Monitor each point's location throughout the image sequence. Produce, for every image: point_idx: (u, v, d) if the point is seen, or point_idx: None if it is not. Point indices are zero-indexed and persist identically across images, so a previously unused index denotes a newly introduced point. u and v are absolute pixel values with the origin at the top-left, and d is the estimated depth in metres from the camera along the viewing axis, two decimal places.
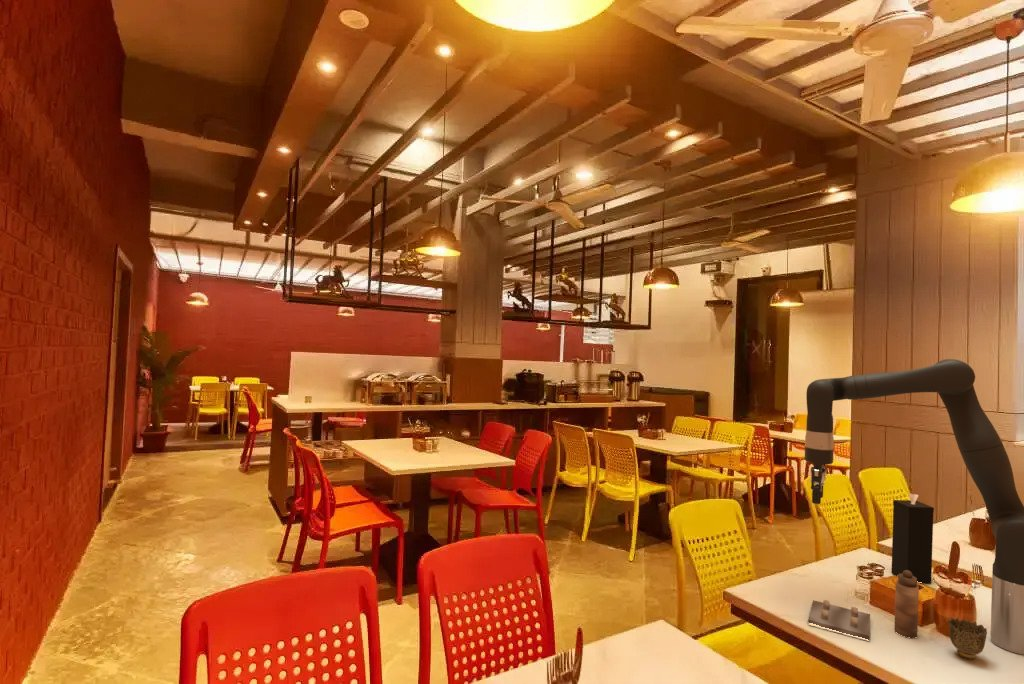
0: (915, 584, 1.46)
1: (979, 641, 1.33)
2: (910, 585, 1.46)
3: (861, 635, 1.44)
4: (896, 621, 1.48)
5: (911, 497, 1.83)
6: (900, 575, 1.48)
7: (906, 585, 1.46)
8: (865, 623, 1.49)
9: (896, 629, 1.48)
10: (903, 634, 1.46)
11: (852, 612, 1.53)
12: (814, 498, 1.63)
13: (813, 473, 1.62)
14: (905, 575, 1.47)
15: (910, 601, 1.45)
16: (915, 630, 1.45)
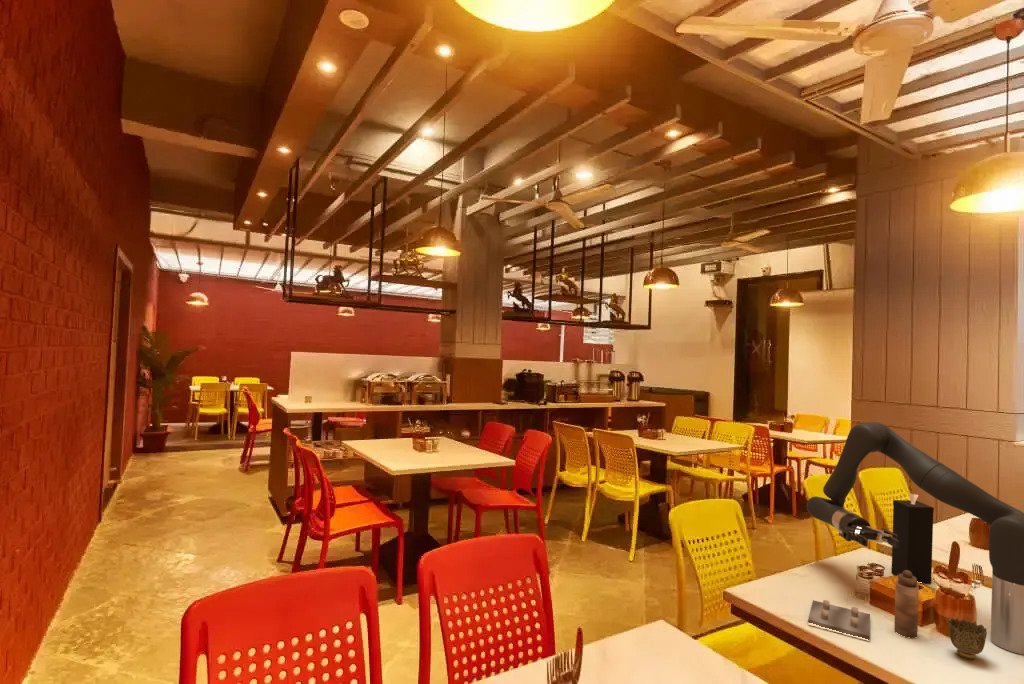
0: (915, 584, 1.46)
1: (979, 641, 1.33)
2: (910, 585, 1.46)
3: (861, 635, 1.44)
4: (896, 621, 1.48)
5: (911, 497, 1.83)
6: (900, 575, 1.48)
7: (906, 585, 1.46)
8: (865, 623, 1.49)
9: (896, 629, 1.48)
10: (903, 634, 1.46)
11: (852, 612, 1.53)
12: (859, 542, 1.61)
13: (840, 534, 1.68)
14: (905, 575, 1.47)
15: (910, 601, 1.45)
16: (915, 630, 1.45)
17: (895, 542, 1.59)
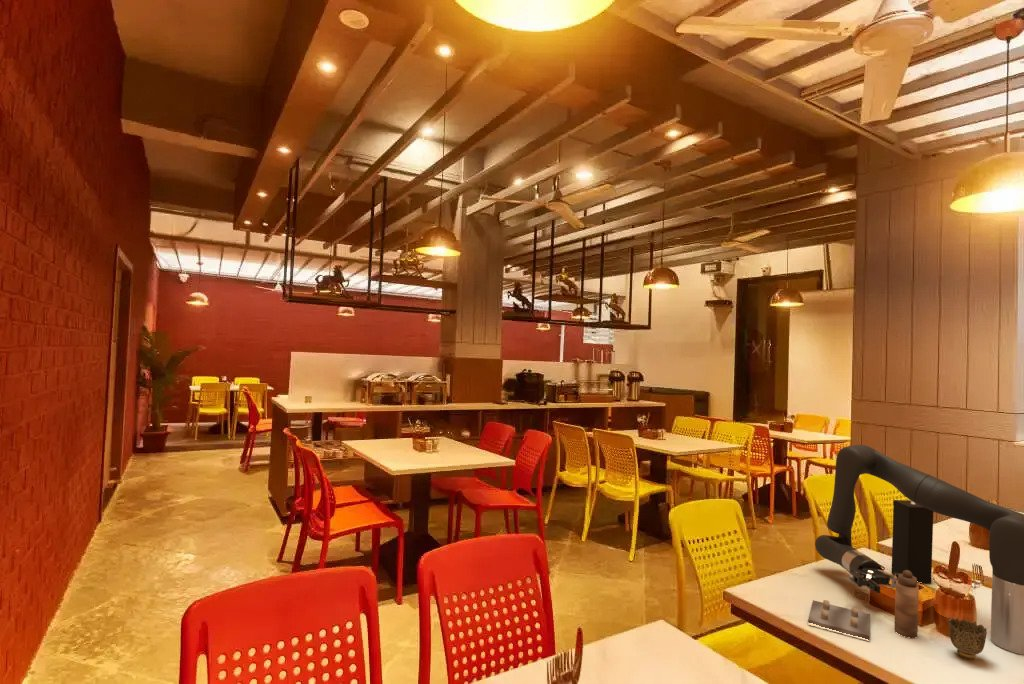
0: (915, 584, 1.46)
1: (979, 641, 1.33)
2: (910, 585, 1.46)
3: (861, 635, 1.44)
4: (896, 621, 1.48)
5: None
6: (900, 575, 1.48)
7: (906, 585, 1.46)
8: (865, 623, 1.49)
9: (896, 629, 1.48)
10: (903, 634, 1.46)
11: (852, 612, 1.53)
12: (871, 588, 1.55)
13: (850, 578, 1.62)
14: (905, 575, 1.47)
15: (910, 601, 1.45)
16: (915, 630, 1.45)
17: None
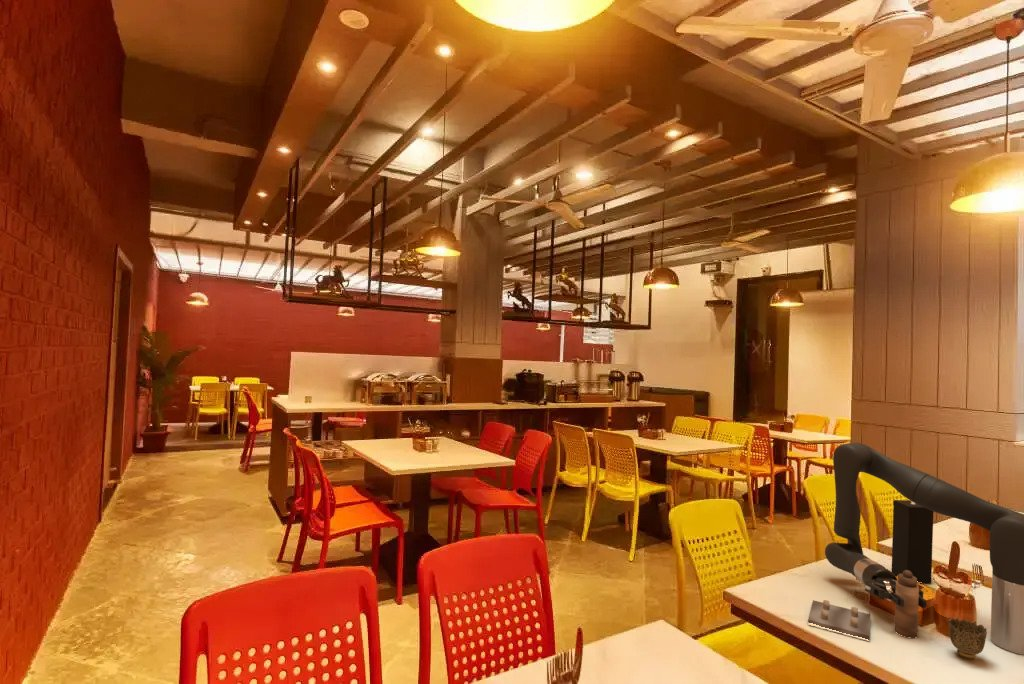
0: (915, 584, 1.46)
1: (979, 641, 1.33)
2: (910, 585, 1.46)
3: (861, 635, 1.44)
4: (896, 621, 1.48)
5: None
6: (900, 575, 1.48)
7: (906, 585, 1.46)
8: (865, 623, 1.49)
9: (896, 629, 1.48)
10: (903, 634, 1.46)
11: (852, 612, 1.53)
12: (894, 601, 1.47)
13: (867, 590, 1.54)
14: (905, 575, 1.47)
15: (910, 601, 1.45)
16: (915, 630, 1.45)
17: (922, 601, 1.45)
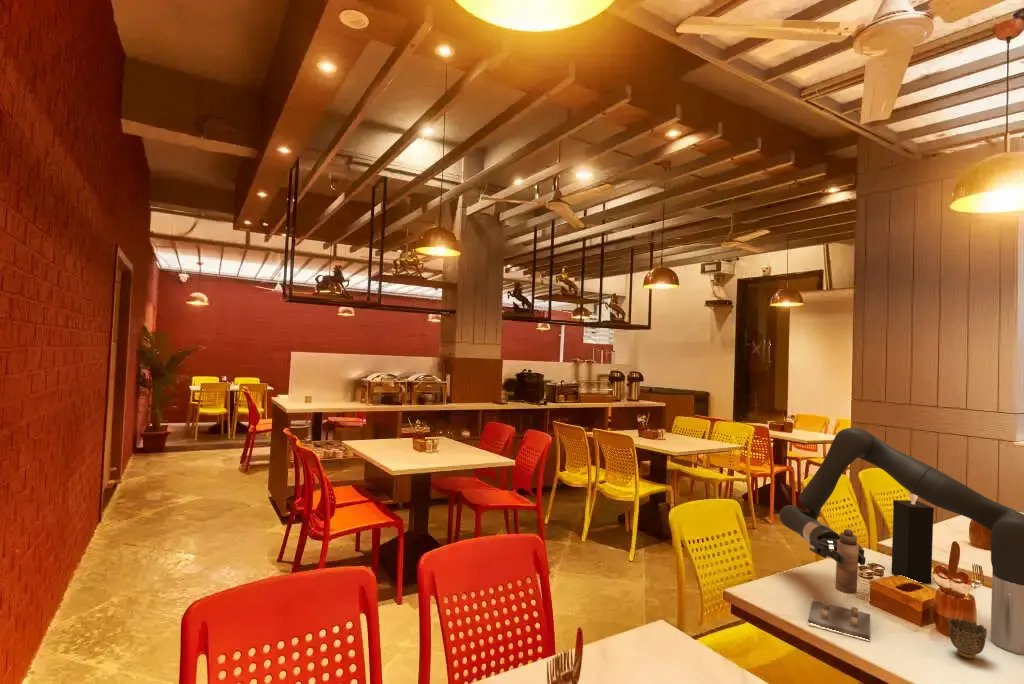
0: (855, 542, 1.51)
1: (979, 641, 1.33)
2: (850, 543, 1.50)
3: (861, 635, 1.44)
4: (837, 578, 1.53)
5: (911, 497, 1.83)
6: (841, 534, 1.53)
7: (846, 543, 1.51)
8: (865, 623, 1.49)
9: (836, 586, 1.53)
10: (842, 590, 1.51)
11: (852, 612, 1.53)
12: (834, 559, 1.52)
13: (811, 549, 1.59)
14: (846, 534, 1.52)
15: (849, 558, 1.50)
16: (854, 586, 1.50)
17: (861, 559, 1.50)
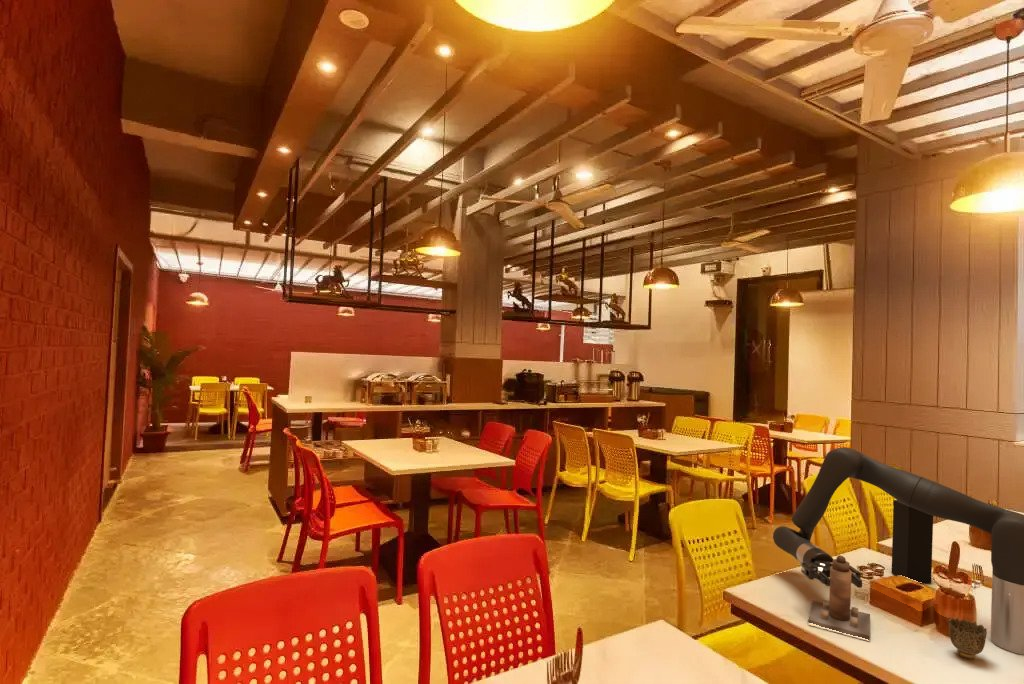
0: (848, 569, 1.51)
1: (979, 641, 1.33)
2: (842, 570, 1.51)
3: (861, 635, 1.44)
4: (830, 605, 1.53)
5: None
6: (834, 560, 1.53)
7: (839, 570, 1.51)
8: (865, 623, 1.49)
9: (830, 613, 1.53)
10: (836, 617, 1.51)
11: (852, 612, 1.53)
12: (821, 581, 1.52)
13: (802, 571, 1.60)
14: (838, 560, 1.52)
15: (842, 585, 1.50)
16: (847, 613, 1.50)
17: (858, 581, 1.51)
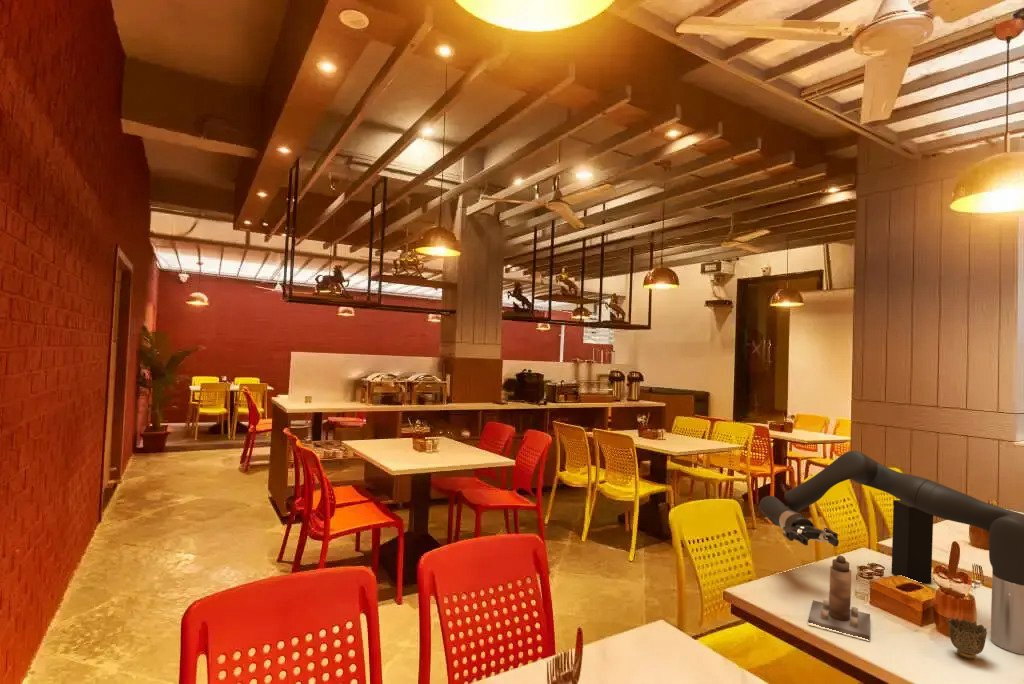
0: (847, 569, 1.51)
1: (979, 641, 1.33)
2: (842, 570, 1.51)
3: (861, 635, 1.44)
4: (830, 605, 1.53)
5: None
6: (834, 560, 1.53)
7: (839, 570, 1.51)
8: (865, 623, 1.49)
9: (830, 613, 1.53)
10: (836, 617, 1.51)
11: (852, 612, 1.53)
12: (800, 541, 1.65)
13: (784, 534, 1.73)
14: (838, 560, 1.52)
15: (842, 585, 1.50)
16: (847, 613, 1.50)
17: (834, 540, 1.63)
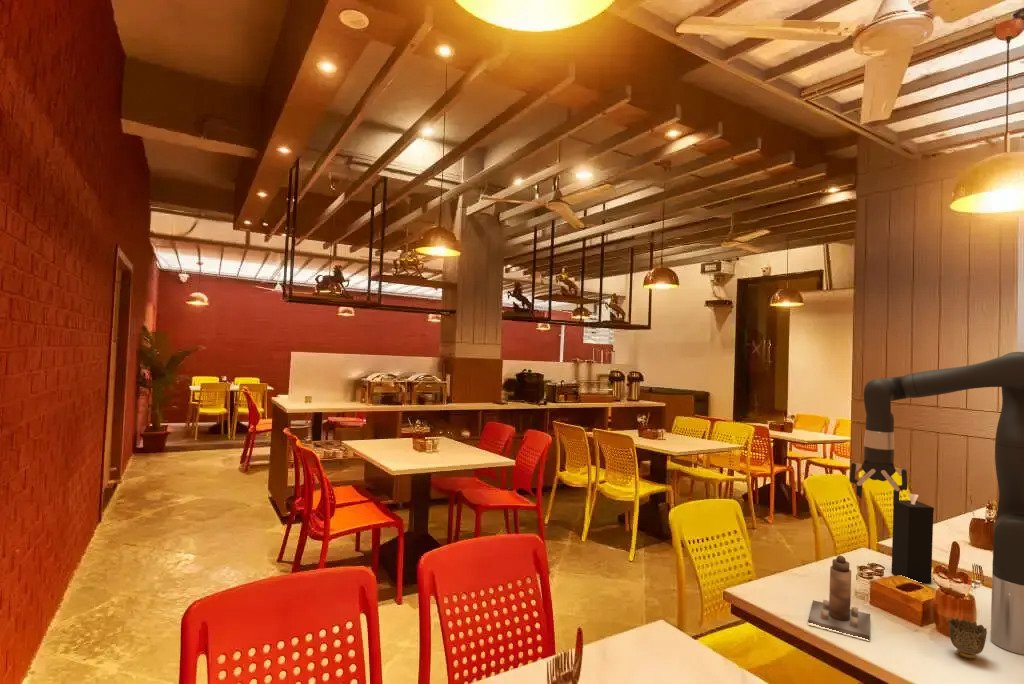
0: (847, 569, 1.51)
1: (979, 641, 1.33)
2: (842, 570, 1.51)
3: (861, 635, 1.44)
4: (830, 605, 1.53)
5: (911, 497, 1.83)
6: (834, 560, 1.53)
7: (839, 570, 1.51)
8: (865, 623, 1.49)
9: (830, 613, 1.53)
10: (836, 617, 1.51)
11: (852, 612, 1.53)
12: None
13: None
14: (838, 560, 1.52)
15: (842, 585, 1.50)
16: (847, 613, 1.50)
17: (893, 501, 1.63)
